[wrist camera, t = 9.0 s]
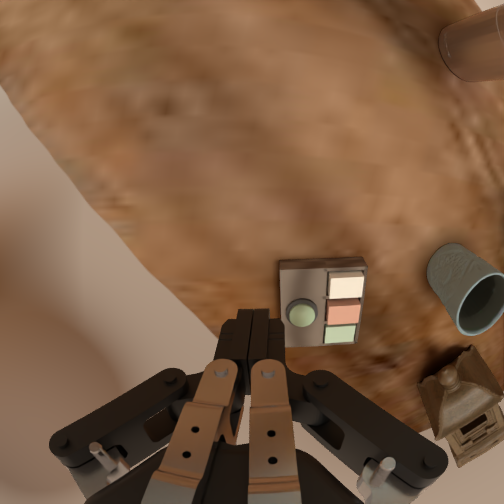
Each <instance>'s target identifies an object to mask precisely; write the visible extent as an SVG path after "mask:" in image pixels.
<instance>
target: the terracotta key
mask: <svg viewBox="0 0 504 504" xmlns="http://www.w3.org/2000/svg"><path fill="white" fill-rule="evenodd" d="M360 307H361V304H360V302H359V299H358V297H355V298H338V299H327V301H326V320H327V324H328V325H335V324H350V323H358V321H359V314H360Z"/></svg>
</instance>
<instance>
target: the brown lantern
mask: <svg viewBox="0 0 504 504" xmlns="http://www.w3.org/2000/svg"><path fill="white" fill-rule="evenodd" d="M417 386H418V389H419V392H420V395H421V398H422V401H423V403H424V406H425V409H426V412H427V414H428V417H429V420H430V423H431V427H432V430H433V433H434V436H435V440H436V441H438V440H440V439H442V438H444V437H445V438H446V439H447V441H448V443H449V446H450V449H451V452H452V454H453V457H454V459H455V461H456V464H457V467H458V468H460V467H462V466H463V465H465V464H466V463H468V462H470V461H471V460H473V459H475V458H477V457H478V456H480V455H482V454H484V453H485V452H487V451H488V450H490V449H491V448H493V447H494V446H496V445H497V444H499V443H500V442H501V441H503V440H504V415H503V412H502V411H501V408H500V406H499V405H498V402H501V400H502V399H503V398H504V393H503V391H502V389H501V387H500V385H499V383H498V382H497V380H496V378H495V377H494V375H493V374H492V372H491V370H490V369H489V368H488V366H487V364H486V363H485V362H484V360H483V359H482V357H481V356H480V354H479V353H478V351H477V349H476V348H475V347H474V346H473V345H471V346H470V348H469V349H468V350H467V351H466V352H465V351H463V352H462V353H461V355H460V356H458V358H456V359H455V360H454V361H452V362H451V363H449V364H448V365H447V366H445V367H443V368H442V369H441V370H440V371H438V372H437V373H435V374H434V375H431V376H428V377H427V378H424V380H423V382H421V383H420V382H419V383H417Z"/></svg>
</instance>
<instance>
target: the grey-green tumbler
mask: <svg viewBox="0 0 504 504" xmlns="http://www.w3.org/2000/svg"><path fill="white" fill-rule="evenodd" d="M427 279H428V282H429V284H430V286H431V287H432V289H433V290H434V292H435V293H436V294H437V295H438V296H439V298H440V300H441V301H442V304H443V305H444V306H445V307H446V310H447V312H448V313H449V315H450V317H451V318H452V320H453V321H454V323H455V325H456V327H457V328H458V330H459V331H460V332H461V333H462V334H464V335H468V336H474V335H478V334H480V333H482V332H484V331H486V330H487V329H489V328H490V327H491V326H492V325H493V324H495V322H496V321H497V320H498V319H499V318H500V316H501V315H502V313H503V312H504V274H503V273H502V272H500V271H499V270H497V269H496V268H494V267H493V266H491V265H490V264H489V263H487V262H486V261H484V260H483V259H482V258H480V257H477V256H476V255H475V254H474V253H472V252H471V251H469V250H467V249H466V248H465V247H463V246H462V245H460V244H457V243H448V244H446V245H444V246H442V247H441V248H440V249H438V250H437V251H436V252H435V253H434V255H433V256H432V257H431V259H430V261H429V264H428V267H427Z"/></svg>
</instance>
